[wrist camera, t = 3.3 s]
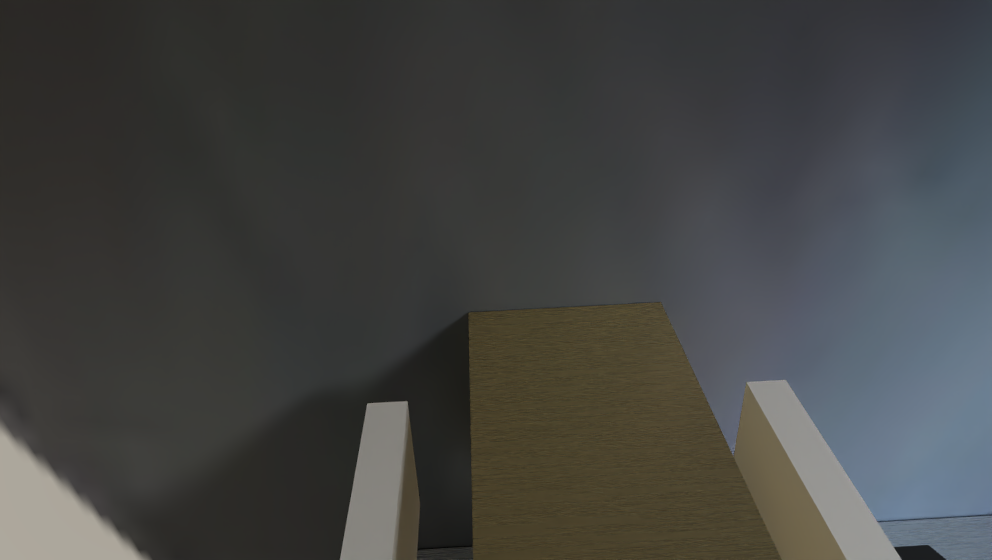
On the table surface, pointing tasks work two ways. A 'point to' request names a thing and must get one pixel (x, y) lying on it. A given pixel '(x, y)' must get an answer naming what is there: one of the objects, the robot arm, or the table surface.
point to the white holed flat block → (961, 541)
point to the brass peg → (599, 443)
